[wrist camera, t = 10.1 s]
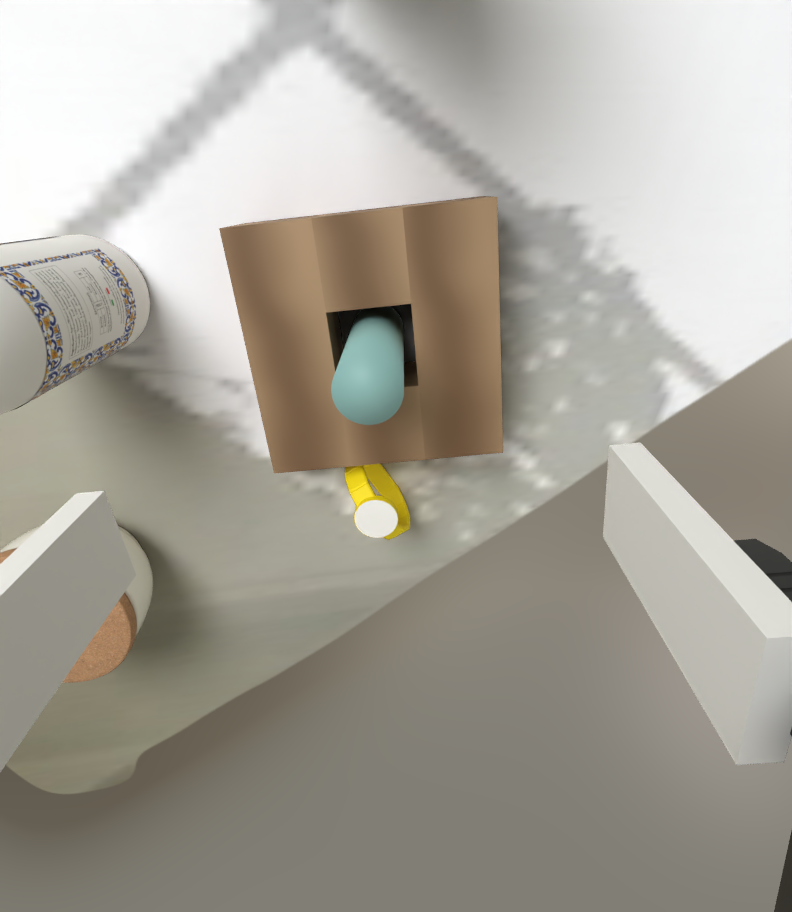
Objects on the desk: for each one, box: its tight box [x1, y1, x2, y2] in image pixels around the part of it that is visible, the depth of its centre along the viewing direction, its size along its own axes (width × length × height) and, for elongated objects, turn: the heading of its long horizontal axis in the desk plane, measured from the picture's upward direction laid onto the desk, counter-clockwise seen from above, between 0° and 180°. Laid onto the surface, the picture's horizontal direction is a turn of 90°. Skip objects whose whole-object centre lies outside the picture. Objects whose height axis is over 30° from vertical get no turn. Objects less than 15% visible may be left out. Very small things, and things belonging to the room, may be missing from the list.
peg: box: [331, 306, 404, 425], centre depth 30 cm, size 3×3×12 cm
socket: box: [220, 196, 503, 473], centre depth 33 cm, size 14×14×5 cm
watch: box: [345, 464, 410, 540], centre depth 37 cm, size 6×3×6 cm, turn 33°
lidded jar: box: [0, 525, 153, 683], centre depth 38 cm, size 11×11×9 cm
